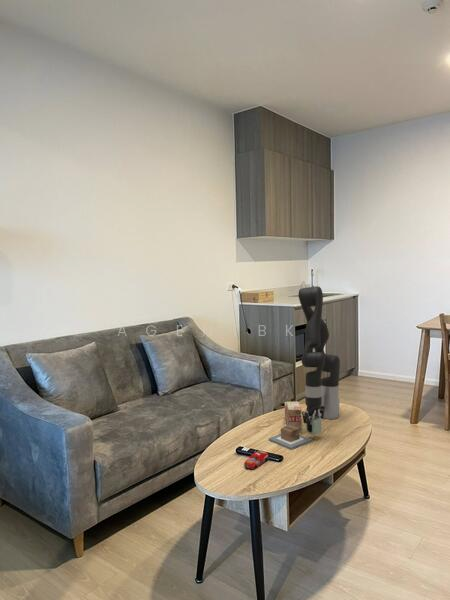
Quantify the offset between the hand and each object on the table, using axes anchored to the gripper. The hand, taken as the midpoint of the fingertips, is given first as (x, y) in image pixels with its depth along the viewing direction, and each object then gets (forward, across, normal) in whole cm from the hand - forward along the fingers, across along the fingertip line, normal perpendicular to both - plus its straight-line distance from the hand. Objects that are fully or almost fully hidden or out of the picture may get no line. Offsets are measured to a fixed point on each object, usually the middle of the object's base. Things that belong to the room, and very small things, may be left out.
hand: (313, 430), depth 203 cm
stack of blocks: (+5, -5, -18) cm, 19 cm away
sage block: (+1, 0, 0) cm, 1 cm away
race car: (+4, +38, +1) cm, 38 cm away
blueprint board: (+4, +10, -5) cm, 12 cm away
